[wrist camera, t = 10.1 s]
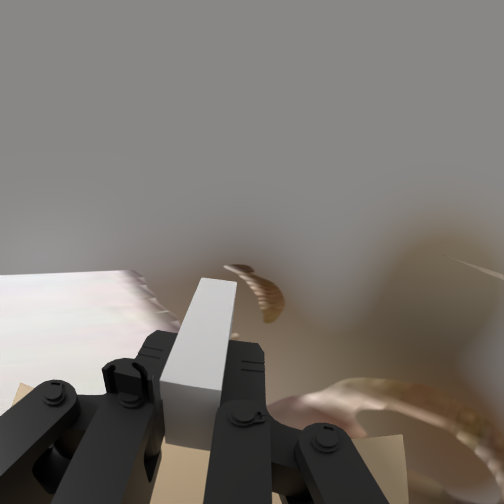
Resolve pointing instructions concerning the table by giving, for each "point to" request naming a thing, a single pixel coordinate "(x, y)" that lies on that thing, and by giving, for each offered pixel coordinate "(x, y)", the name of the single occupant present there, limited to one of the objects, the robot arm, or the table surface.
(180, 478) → the carton flap
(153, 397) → the robot arm
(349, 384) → the table surface
